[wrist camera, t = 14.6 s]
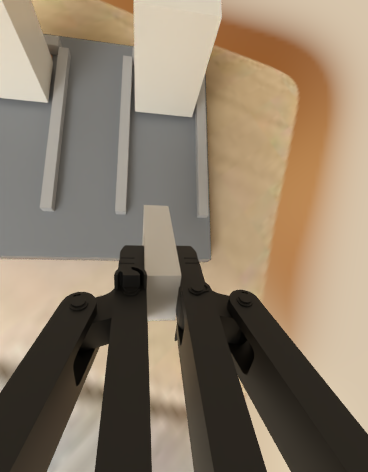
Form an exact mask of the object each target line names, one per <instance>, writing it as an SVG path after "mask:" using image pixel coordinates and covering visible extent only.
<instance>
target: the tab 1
mask: <svg viewBox="0 0 368 472" xmlns="http://www.w3.org/2000/svg"><path fill="white" fill-rule="evenodd" d="M52 68H53V61H52V58H51V55H50V52H49V49H48V46H47V44H46V41H45V38H44V35H43V32H42V29H41V27H40V24H39V21H38V18H37V15H36V13H35V10H34V7H33V4H32V1H31V0H0V98H5V99H15V100H25V101H35V102H45V103H48V100H49V92H50V84H51V76H52Z"/></svg>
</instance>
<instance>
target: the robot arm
mask: <svg viewBox="0 0 368 472" xmlns="http://www.w3.org/2000/svg"><path fill="white" fill-rule="evenodd" d="M114 283H115V288H114V290H112V291H111V292H110V293H108V294H106V295H103V296H100V297H96V298H95V297H94V296H93V295H92V294H90V293H87V292H77V293H73V294H71V295H69V296H67V297H66V298H65V299H64V300H63V301H62V302H61V303H60V305H59V306H58V308H57V309H56V311H55V312H54V314H53V315H52V317H51V318H50V320H49V321H48V323H47V324H46V326H45V327H44V329H43V330H42V332H41V333H40V335H39V336H38V338H37V339H36V341H35V342H34V344H33V345H32V347H31V348H30V349H29V351H28V352H27V354H26V355H25V357H24V358H23V360H22V361H21V363H20V364H19V366H18V367H17V369H16V370H15V372H14V373H13V375H12V376H11V378H10V379H9V381H8V382H7V384H6V385H5V387H4V388H3V390H2V391H1V393H0V472H47V469H48V467H49V465H50V462H51V460H52V458H53V455H54V453H55V451H56V448H57V446H58V444H59V441H60V439H61V437H62V434H63V432H64V429H65V427H66V425H67V422H68V420H69V418H70V415H71V413H72V411H73V408H74V406H75V404H76V401H77V399H78V397H79V394H80V392H81V390H82V387H83V385H84V383H85V380H86V378H87V375H88V373H89V371H90V368H91V366H92V364H93V361H94V359H95V357H96V354H97V352H98V350H99V347H100V346H103V345H106V344H109V347H108V356H107V365H106V374H105V383H104V393H103V402H102V411H101V420H100V429H99V438H98V447H97V456H96V465H95V472H152V463H151V428H150V393H149V358H148V323H147V321H162V320H175V318H176V316H177V327H176V333H175V341H177V340H178V348H179V356H180V364H181V372H182V380H183V387H184V395H185V403H186V411H187V419H188V427H189V434H190V442H191V450H192V458H193V466H194V472H267V471H266V467H265V464H264V461H263V458H262V454H261V451H260V448H259V444H258V441H257V438H256V435H255V431H254V428H253V425H252V421H251V418H250V415H249V411H248V408H247V405H246V401H245V398H244V395H243V392H242V388H241V385H240V382H239V379H240V381H241V382H242V384H243V386H244V388H245V390H246V391H247V393H248V395H249V397H250V399H251V400H252V402H253V404H254V405H255V408H256V409H257V411H258V413H259V415H260V417H261V418H262V420H263V422H264V424H265V426H266V427H267V429H268V431H269V433H270V435H271V436H272V438H273V440H274V442H275V443H276V445H277V447H278V449H279V451H280V452H281V454H282V456H283V458H284V460H285V462H286V463H287V465H288V467H289V469H290V471H291V472H368V434H367V433H366V432H365V431H364V429H363V428H362V427H361V426H360V424H359V423H358V422H357V421H356V419H355V418H354V417H353V416H352V415H351V413H350V412H349V411H348V409H347V408H346V407H345V406H344V404H343V403H342V402H341V401H340V399H339V398H338V397H337V396H336V395H335V393H334V392H333V391H332V390H331V388H330V387H329V386H328V385H327V384H326V382H325V381H324V380H323V378H322V377H321V376H320V375H319V374H318V372H317V371H316V370H315V369H314V367H313V366H312V365H311V364H310V363H309V361H308V360H307V359H306V357H305V356H304V355H303V354H302V352H301V351H300V350H299V349H298V347H296V345H295V344H294V343H293V341H292V340H291V339H290V338H289V336H288V335H287V334H286V333H285V331H284V330H283V329H282V328H281V326H280V325H279V324H278V323H277V321H276V320H275V319H274V318H273V317H272V315H271V314H270V313H269V312H268V310H267V309H266V308H265V307H264V305H263V304H262V303H261V302H260V300H259V299H258V298H257V297H256V296H255V295H254V294H252V293H250V292H249V291H245V290H236V291H233V292H232V293H231V294H230V296H227V295H223V294H219V293H216V292H214V291H212V290H211V288H210V286H209V285H208V284H207V283H205V281H204V277H203V274H202V270H201V267H200V264H199V260H198V256H197V253H196V251H195V250H194V249H193V248H192V247H191V246H176V244H175V239H174V233H173V228H172V223H171V217H170V212H169V207H168V206H159V205H144V214H143V239H142V246H138V245H125V246H124V247H123V248H122V249H121V251H120V259H119V267H118V270H117V271H116V272H115V275H114ZM238 377H239V378H238Z"/></svg>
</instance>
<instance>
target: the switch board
mask: <svg viewBox="0 0 368 472" xmlns="http://www.w3.org/2000/svg"><path fill="white" fill-rule="evenodd" d="M43 35H44V38H45V41H46V44H47V46H48V49H49V52H50V55H51V58H52V61H53V68H52V76H51V84H50V92H49V100H48V103H45V102H35V101H25V100H15V99H5V98H0V259H51V260H116V261H119V259H120V251H121V249H122V248H123V247H124V246H125V245H138V246H142V239H143V214H144V205H159V206H168V207H169V212H170V217H171V223H172V228H173V233H174V239H175V244H176V246H191V247H192V248H193V249H194V250H195V251H196V253H197V256H198V260H199V262H207V261H209V260H211V242H210V209H209V175H208V142H207V108H206V75H204V79H203V82H202V85H201V89H200V92H199V95H198V99H197V102H196V105H195V109H194V112H193V115H192V117H184V116H174V115H164V114H154V113H145V112H135V73H134V46H127V45H120V44H113V43H105V42H98V41H91V40H84V39H77V38H70V37H62V36H55V35H48V34H43Z"/></svg>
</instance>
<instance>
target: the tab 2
mask: <svg viewBox="0 0 368 472" xmlns="http://www.w3.org/2000/svg"><path fill="white" fill-rule="evenodd" d="M221 18H222V9H221V0H134V73H135V112H145V113H154V114H164V115H174V116H184V117H192V115H193V112H194V109H195V105H196V102H197V99H198V95H199V92H200V89H201V85H202V82H203V79H204V75H205V72H206V69H207V65H208V62H209V59H210V55H211V52H212V49H213V45H214V41H215V38H216V35H217V32H218V28H219V25H220V22H221Z"/></svg>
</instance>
